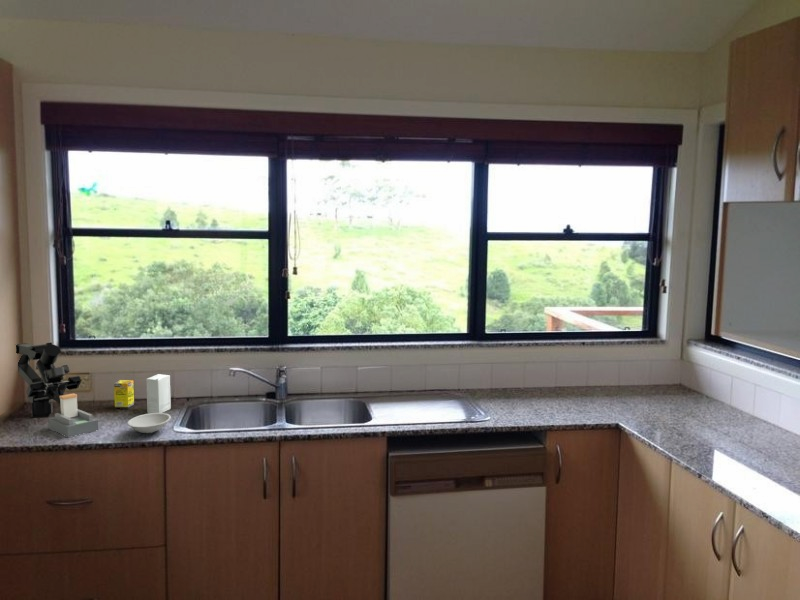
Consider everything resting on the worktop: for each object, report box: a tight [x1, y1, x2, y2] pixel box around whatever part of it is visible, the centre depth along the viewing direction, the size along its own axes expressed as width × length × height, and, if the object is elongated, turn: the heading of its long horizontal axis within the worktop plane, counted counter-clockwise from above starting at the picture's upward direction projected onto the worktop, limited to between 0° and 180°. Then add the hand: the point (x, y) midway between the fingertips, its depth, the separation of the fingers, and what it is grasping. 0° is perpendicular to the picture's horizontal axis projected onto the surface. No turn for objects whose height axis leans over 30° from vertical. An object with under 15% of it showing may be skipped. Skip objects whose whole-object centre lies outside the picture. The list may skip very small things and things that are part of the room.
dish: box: [127, 412, 172, 434], centre depth 237 cm, size 18×14×5 cm
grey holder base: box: [48, 408, 99, 438], centre depth 240 cm, size 16×11×6 cm
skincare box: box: [145, 373, 172, 414], centre depth 264 cm, size 8×6×15 cm
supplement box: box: [113, 379, 135, 410], centre depth 270 cm, size 6×6×11 cm
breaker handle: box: [59, 392, 78, 418], centre depth 241 cm, size 3×5×8 cm, turn 141°
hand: (62, 403), depth 245 cm, fingers closed
